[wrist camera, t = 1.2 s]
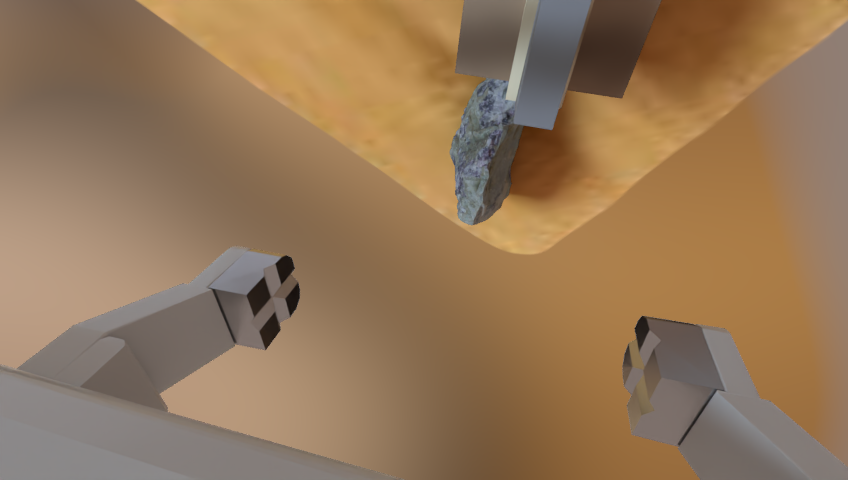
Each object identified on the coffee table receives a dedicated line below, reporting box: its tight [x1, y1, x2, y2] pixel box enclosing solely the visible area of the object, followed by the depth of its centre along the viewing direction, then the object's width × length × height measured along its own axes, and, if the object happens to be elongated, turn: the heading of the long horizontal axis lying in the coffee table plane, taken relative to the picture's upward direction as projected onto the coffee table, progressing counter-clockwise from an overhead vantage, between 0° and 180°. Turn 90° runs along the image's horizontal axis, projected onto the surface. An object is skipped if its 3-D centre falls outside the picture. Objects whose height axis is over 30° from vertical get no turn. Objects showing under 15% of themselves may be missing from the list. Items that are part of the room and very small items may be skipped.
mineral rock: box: [450, 78, 524, 225], centre depth 39 cm, size 13×11×10 cm
